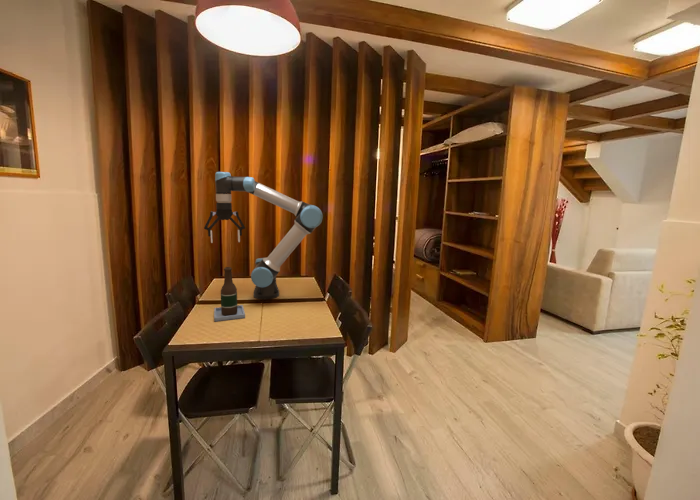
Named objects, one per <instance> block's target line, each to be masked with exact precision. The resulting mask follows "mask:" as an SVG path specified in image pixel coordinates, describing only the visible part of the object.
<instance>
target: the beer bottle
mask: <svg viewBox="0 0 700 500" xmlns="http://www.w3.org/2000/svg"><path fill="white" fill-rule="evenodd" d="M232 270H233V268H232V267H230V266H228V267H227V266H226V267H224V268H223V271H224V277H223V278H224V279H223V281H224V282H223V284H222V286H221V288H220V307H221V312H222V315H224V316H230V315H236V314H237V306H238V291H237V289H238V288H237V287H236V285H235V283H234V282H233V274H232V273H233V271H232Z"/></svg>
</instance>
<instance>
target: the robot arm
mask: <svg viewBox="0 0 700 500" xmlns="http://www.w3.org/2000/svg"><path fill="white" fill-rule="evenodd" d="M214 178H215V179H214V184H215V201H216V204H215V205H216V211H212V210H211V211H210V214H209V217H208V219H207V220H206V223H205V225H204V227H203V230H206V231H207V234H208V235H207V236H208V237H210V243H211V244H213V230H212V228H214V227H215V225H216V224H217V223H218V222H219V221H229V220H230V221H231V223H233V225H235V226H236V228H238V229H237V241H238V243H240V242H241V236H243V231H242V230H244V229H246V227H245V224H244V223H243V220H242V219H241V217H240V216H239V212H238V211H233V208H232V207H233V205H232V192H246V193H249V194H251V195H253V196H255V197H258V198H260V199H262V200H264V201H266V202H268V203H271V204H273V205H274V206H277V207H279V208H280V209H283V210H285V211H288V212H290V213H292V214H294V216H295V219H294V224H293V226H292V227H291V228H290V229H289V231H288V232H287V233H286V234H285V235H284V236H283V238H282V239H281V240H280V242H278V243H277V245H276V247H274V248H273V250H272V252H270V253H269V255H268V256H267V257H260V258H259V257H258V258H256V259H255V267H254V269H253V270H252V271H251V274H250V279H251V282H252V283H253V284H254V285H255V286H254V288H253V289H254V290H253V294H252V295H253V296H252V297H254V298H255V299H257V300H272V299H275V298H278V297H279V296H280V290H279V287H278V284H277V276H278V274H279V273H280V272H281V266H282V265H283V264H284V263H285V261H286V260H287V259H288V258H289V256H290V255H291V254H292V253H293V252H294V250H295V249H296V248H297V247H298V246H299V244H301V242H302V241H303V240H304V238H305V237H306V236H307V235H309V234H312V233H313V232H314V231H315V229H316V228H317V227H319V226H320V225H321V224H322V222H323V217H324V215H323V212H322V210H321V209H320V208H319V207H318V206H316V205H314V204H310V203H307V202H305V201H302V200H301V201H299V200H296V199H294V198H292V197H289V196H288V195H285V194H284V193H281V192H280V191H278V190H275V189H273V188H271V187H269V186H266V185H264V184H262V183H260V182H258V181H256V180H255V178H254V177H251V176H232V175H231V173H230V172H228V171H216V172H215V175H214ZM215 215H216V216H217V217H216V219H214V221H213V222H212V223H211V221H212V219H213V217H214V216H215ZM233 215H234V216H235V217H236V218H237V220H238V222H239V224H238V223H237V222H236V221H235V219H234V218H233V217H232V216H233ZM210 223H211V224H210ZM209 224H210V226H209Z"/></svg>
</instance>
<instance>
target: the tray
mask: <svg viewBox="0 0 700 500" xmlns="http://www.w3.org/2000/svg"><path fill="white" fill-rule="evenodd" d="M213 310H214V311H213V312H214V313H213V317H214V318H213V320H214V322H217V323H218V322H223V321H224V322H226V321H233V320H241V319H246V312H245V308H244V305H243V304H239V305H238V304H237V314H236V315H230V316H224V315H222V312H221V306H220V307H214V308H213Z"/></svg>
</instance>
